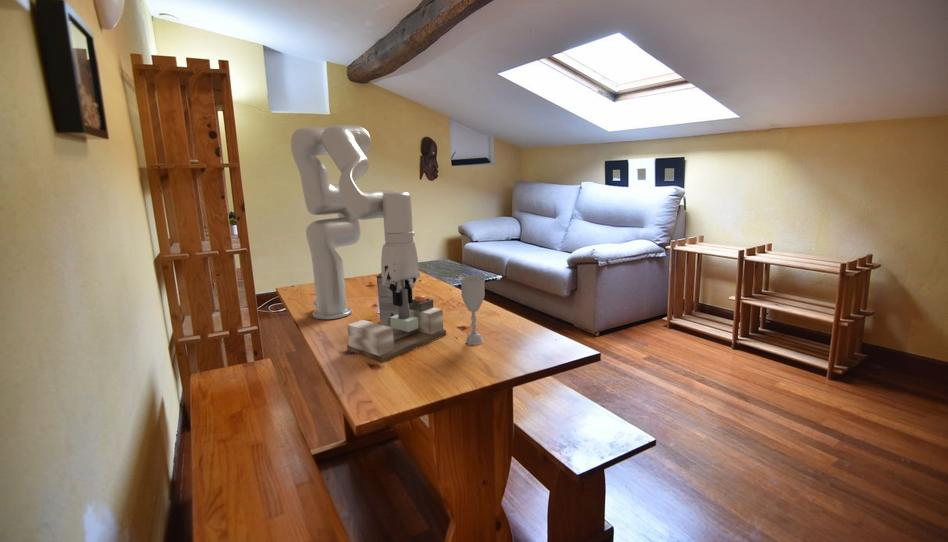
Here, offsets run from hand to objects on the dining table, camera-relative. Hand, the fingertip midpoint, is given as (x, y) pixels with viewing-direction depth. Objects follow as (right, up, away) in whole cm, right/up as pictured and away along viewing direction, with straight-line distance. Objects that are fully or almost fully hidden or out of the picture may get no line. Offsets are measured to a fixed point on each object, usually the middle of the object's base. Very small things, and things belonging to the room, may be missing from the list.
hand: (403, 303), depth 135 cm
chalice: (+20, -11, -1) cm, 23 cm away
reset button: (+4, 0, +6) cm, 7 cm away
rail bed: (-1, -11, 0) cm, 11 cm away
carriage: (0, -7, +2) cm, 7 cm away
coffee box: (-5, -7, +18) cm, 20 cm away
